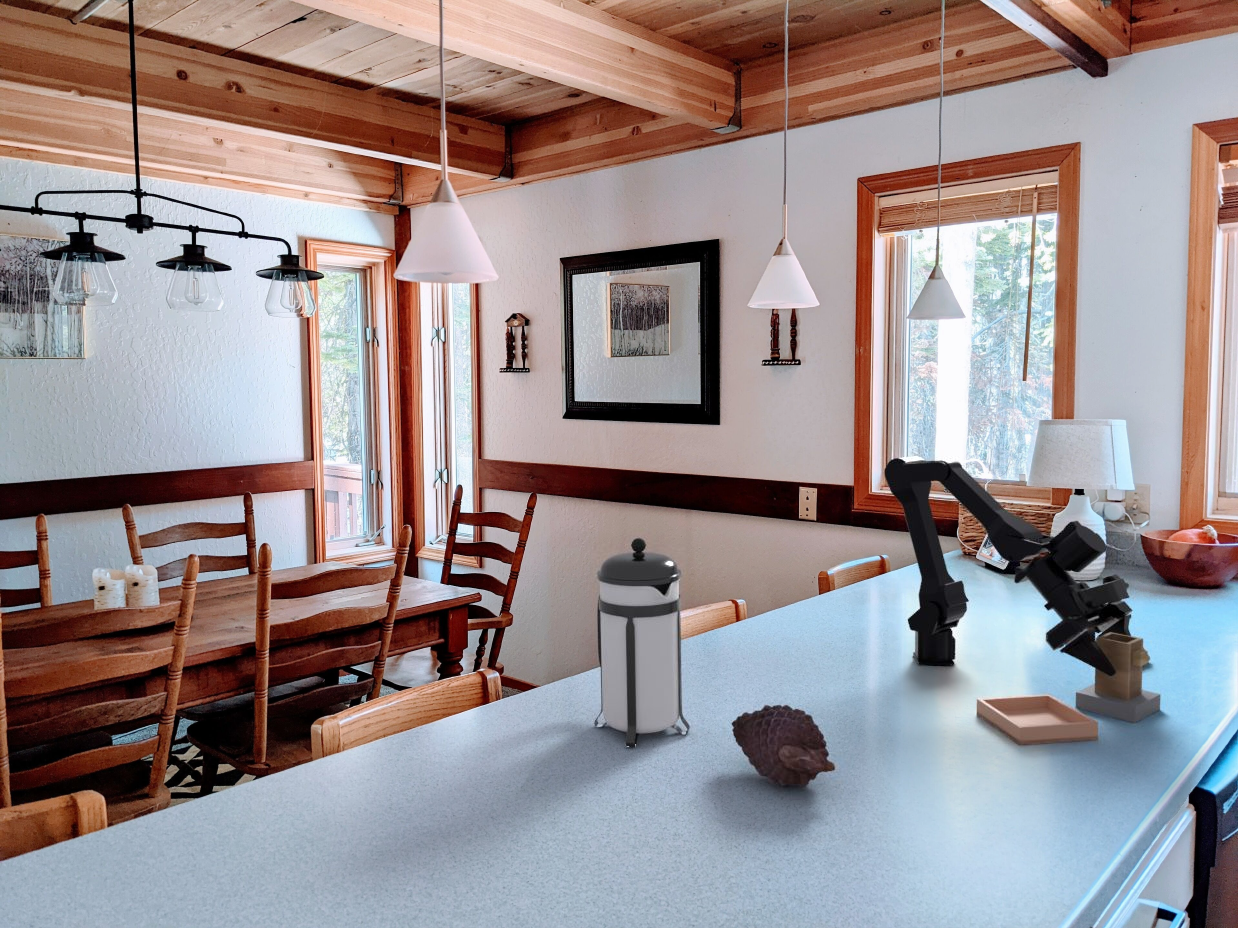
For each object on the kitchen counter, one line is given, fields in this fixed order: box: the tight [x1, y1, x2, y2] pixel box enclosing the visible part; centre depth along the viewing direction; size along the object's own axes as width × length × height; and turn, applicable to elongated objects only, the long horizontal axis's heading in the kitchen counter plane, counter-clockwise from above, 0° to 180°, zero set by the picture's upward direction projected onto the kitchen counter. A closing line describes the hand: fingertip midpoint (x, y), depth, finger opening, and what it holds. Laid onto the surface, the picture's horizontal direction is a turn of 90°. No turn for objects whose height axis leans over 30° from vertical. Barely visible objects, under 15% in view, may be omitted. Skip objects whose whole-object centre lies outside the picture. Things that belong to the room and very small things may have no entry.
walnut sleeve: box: [1094, 632, 1149, 701], centre depth 142 cm, size 6×5×9 cm
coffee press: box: [593, 537, 691, 748], centre depth 137 cm, size 17×16×30 cm
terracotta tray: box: [976, 693, 1099, 746], centre depth 136 cm, size 12×12×3 cm
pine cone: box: [731, 704, 836, 787], centre depth 119 cm, size 18×10×10 cm, turn 34°
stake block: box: [1075, 683, 1161, 724], centre depth 142 cm, size 9×9×7 cm
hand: (1127, 668), depth 141 cm, fingers open, 9 cm apart
